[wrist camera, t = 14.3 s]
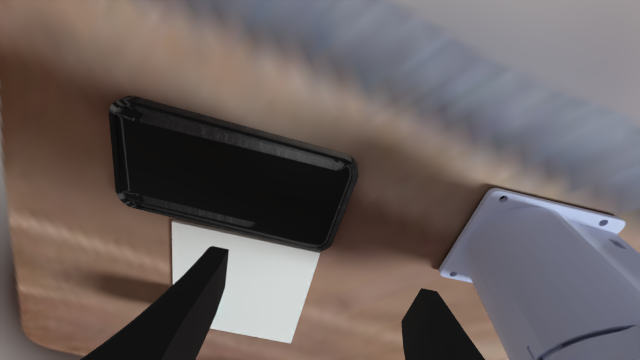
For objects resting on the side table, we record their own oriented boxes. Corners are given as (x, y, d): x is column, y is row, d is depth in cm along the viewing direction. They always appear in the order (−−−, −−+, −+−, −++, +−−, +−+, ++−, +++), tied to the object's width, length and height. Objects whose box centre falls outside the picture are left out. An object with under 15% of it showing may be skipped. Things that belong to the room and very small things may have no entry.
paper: (320, 250, 23) (320, 253, 23) (291, 340, 29) (290, 343, 29) (173, 219, 22) (171, 221, 22) (175, 318, 28) (173, 321, 28)
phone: (107, 94, 17) (363, 164, 18) (119, 89, 18) (362, 156, 19) (117, 205, 21) (327, 256, 22) (126, 196, 22) (327, 245, 23)
